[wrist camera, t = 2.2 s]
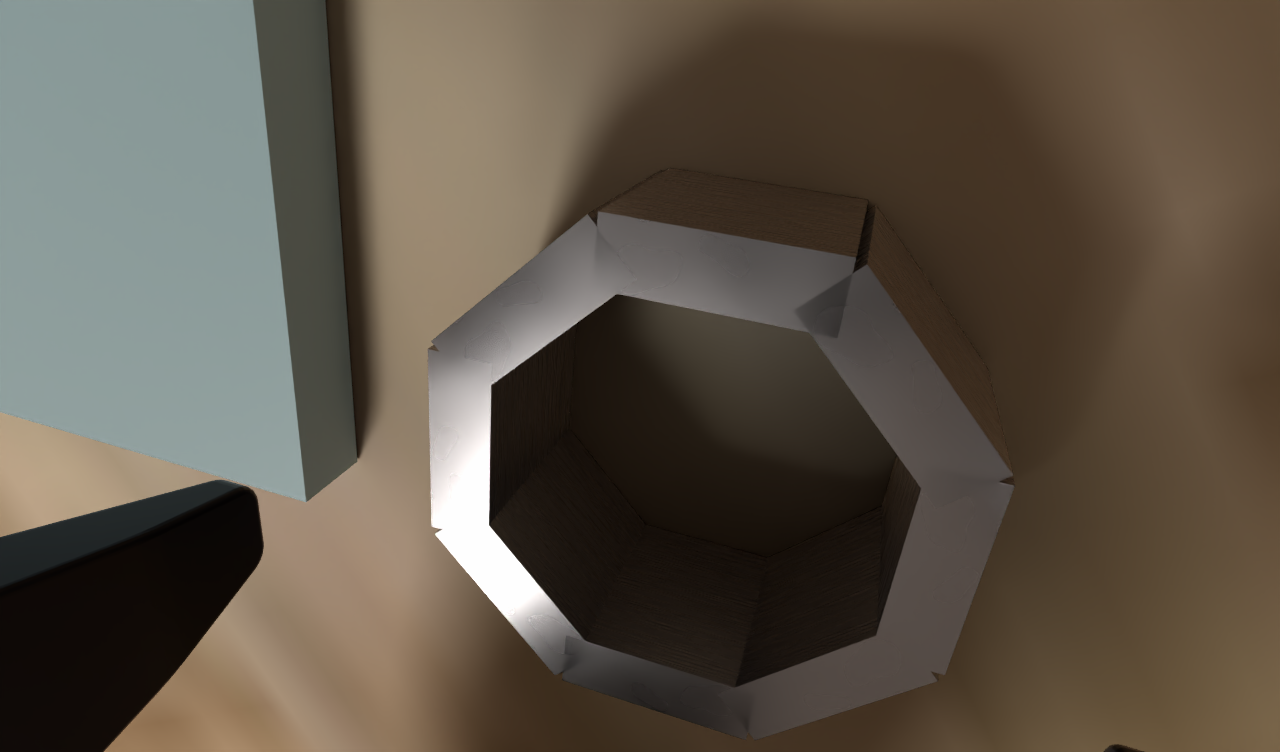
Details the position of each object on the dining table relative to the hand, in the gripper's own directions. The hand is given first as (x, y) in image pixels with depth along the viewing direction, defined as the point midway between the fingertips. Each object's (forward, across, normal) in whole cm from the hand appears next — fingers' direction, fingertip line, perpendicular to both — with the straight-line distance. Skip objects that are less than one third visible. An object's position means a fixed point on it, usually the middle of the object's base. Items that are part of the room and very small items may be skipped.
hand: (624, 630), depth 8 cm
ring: (+5, 0, 0) cm, 5 cm away
